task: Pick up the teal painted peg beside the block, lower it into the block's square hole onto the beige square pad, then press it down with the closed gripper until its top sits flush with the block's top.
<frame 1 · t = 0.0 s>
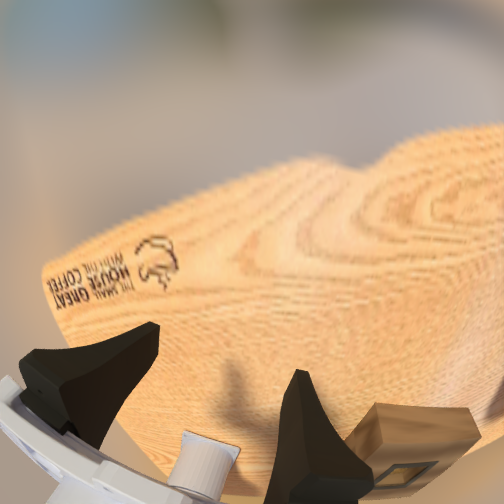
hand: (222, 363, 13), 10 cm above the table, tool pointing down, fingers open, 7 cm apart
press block: (394, 444, 26), on the table
beige square pad: (398, 463, 23), point 4 cm above the table, slide at 3.0 cm
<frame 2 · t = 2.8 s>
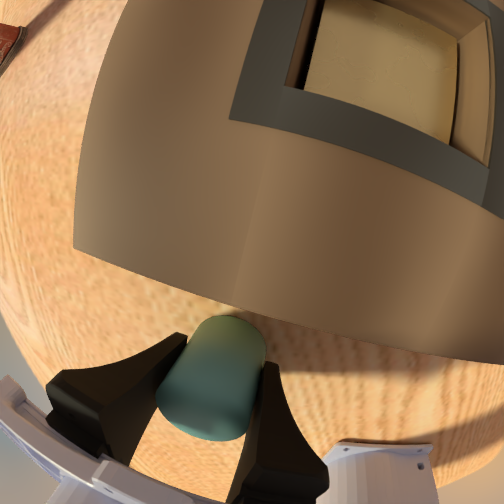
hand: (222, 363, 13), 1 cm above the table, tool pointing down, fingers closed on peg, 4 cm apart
lighter: (6, 60, 12), on the table
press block: (366, 90, 9), on the table
beige square pad: (389, 62, 6), point 3 cm above the table, slide at 3.0 cm
peg: (229, 347, 14), on the table, touching gripper
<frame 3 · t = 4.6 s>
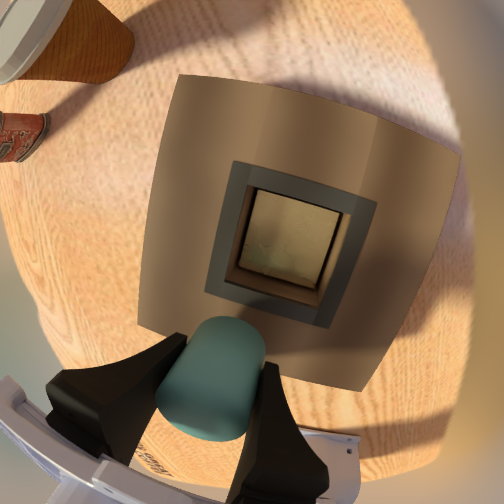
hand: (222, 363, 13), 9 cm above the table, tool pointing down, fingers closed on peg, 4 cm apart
lighter: (33, 138, 22), on the table
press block: (290, 228, 20), on the table
disposable coffee cup: (109, 55, 18), on the table
beige square pad: (287, 239, 16), point 4 cm above the table, slide at 3.0 cm
peg: (229, 347, 14), point 8 cm above the table, touching gripper
when the fingers open (6 cm above the table, at t = 6.4 s): peg drops 1 cm, resting on beige square pad.
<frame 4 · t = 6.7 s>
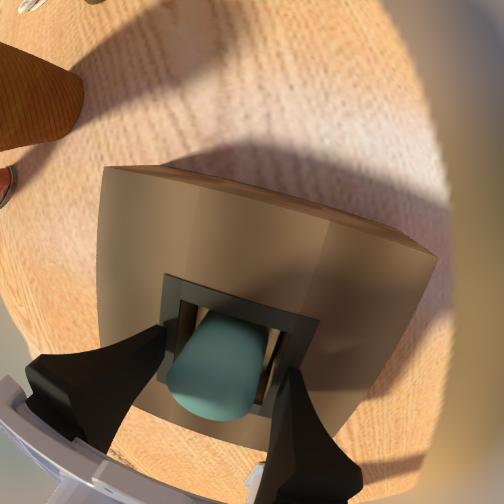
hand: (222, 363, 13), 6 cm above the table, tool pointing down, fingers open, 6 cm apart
lighter: (5, 188, 21), on the table
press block: (246, 307, 19), on the table
disposable coffee cup: (62, 106, 17), on the table
beige square pad: (235, 331, 16), point 3 cm above the table, slide at 2.7 cm, touching peg
peg: (234, 334, 15), point 3 cm above the table, touching beige square pad
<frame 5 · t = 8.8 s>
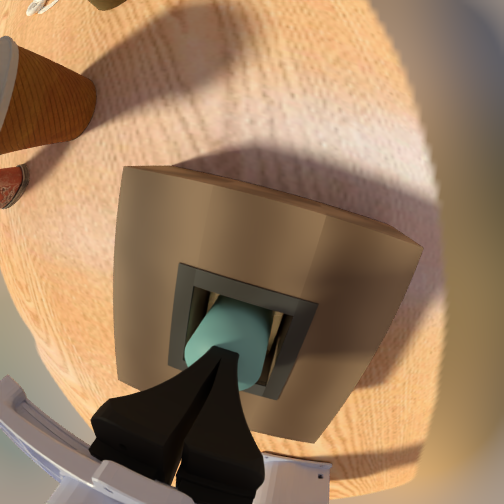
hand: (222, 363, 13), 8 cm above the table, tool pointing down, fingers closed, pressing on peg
lighter: (16, 187, 22), on the table
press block: (250, 297, 20), on the table
disposable coffee cup: (74, 108, 19), on the table
beige square pad: (243, 314, 18), point 3 cm above the table, slide at 2.1 cm, touching peg
peg: (242, 316, 18), point 3 cm above the table, touching gripper, beige square pad
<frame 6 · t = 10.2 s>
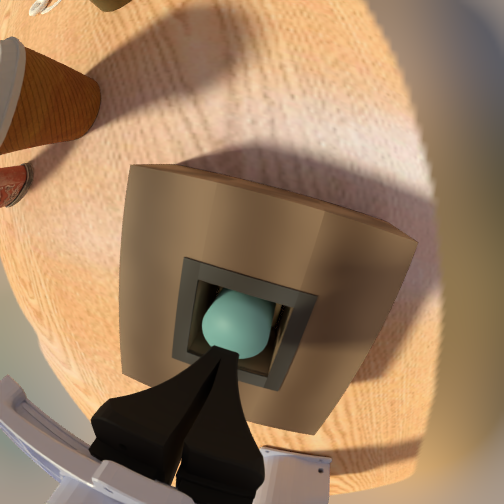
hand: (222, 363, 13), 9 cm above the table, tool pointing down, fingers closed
lighter: (20, 185, 23), on the table
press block: (252, 291, 21), on the table
disposable coffee cup: (79, 108, 19), on the table
beige square pad: (251, 294, 21), resting in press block, slide at 0.0 cm, touching peg
peg: (250, 295, 20), point 1 cm above the table, touching beige square pad
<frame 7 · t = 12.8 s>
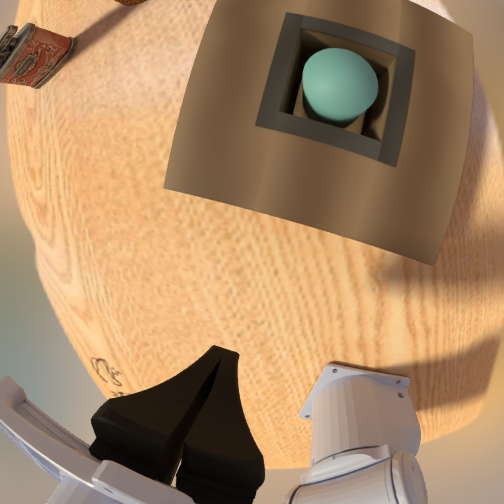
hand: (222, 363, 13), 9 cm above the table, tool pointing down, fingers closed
lighter: (55, 64, 19), on the table
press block: (330, 105, 17), on the table
beige square pad: (331, 103, 16), resting in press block, slide at 0.0 cm, touching peg
peg: (331, 102, 16), point 1 cm above the table, touching beige square pad
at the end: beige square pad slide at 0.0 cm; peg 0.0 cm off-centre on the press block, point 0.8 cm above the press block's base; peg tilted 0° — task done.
